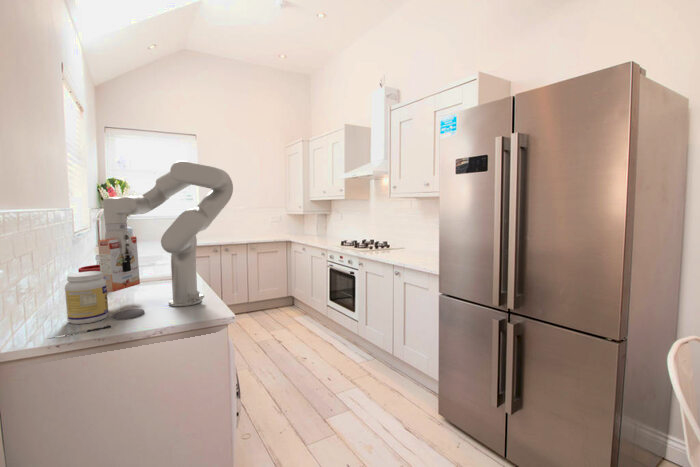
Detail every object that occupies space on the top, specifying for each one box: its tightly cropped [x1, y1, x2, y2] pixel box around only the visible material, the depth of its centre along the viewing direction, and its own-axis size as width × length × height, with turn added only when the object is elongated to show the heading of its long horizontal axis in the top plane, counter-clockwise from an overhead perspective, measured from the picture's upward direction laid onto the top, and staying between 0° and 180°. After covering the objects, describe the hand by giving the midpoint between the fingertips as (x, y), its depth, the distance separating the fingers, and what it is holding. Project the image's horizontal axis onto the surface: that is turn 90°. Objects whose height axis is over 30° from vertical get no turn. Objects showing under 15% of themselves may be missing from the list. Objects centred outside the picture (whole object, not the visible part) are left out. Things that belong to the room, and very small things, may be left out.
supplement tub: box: [64, 271, 109, 325], centre depth 131 cm, size 12×12×17 cm
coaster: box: [112, 308, 145, 321], centre depth 137 cm, size 10×10×1 cm
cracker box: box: [97, 235, 141, 293], centre depth 149 cm, size 14×6×21 cm, turn 168°
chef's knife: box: [65, 324, 112, 337], centre depth 118 cm, size 19×1×3 cm
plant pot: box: [78, 264, 100, 273], centre depth 175 cm, size 13×13×12 cm
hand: (120, 270), depth 150 cm, fingers closed on cracker box, 6 cm apart
